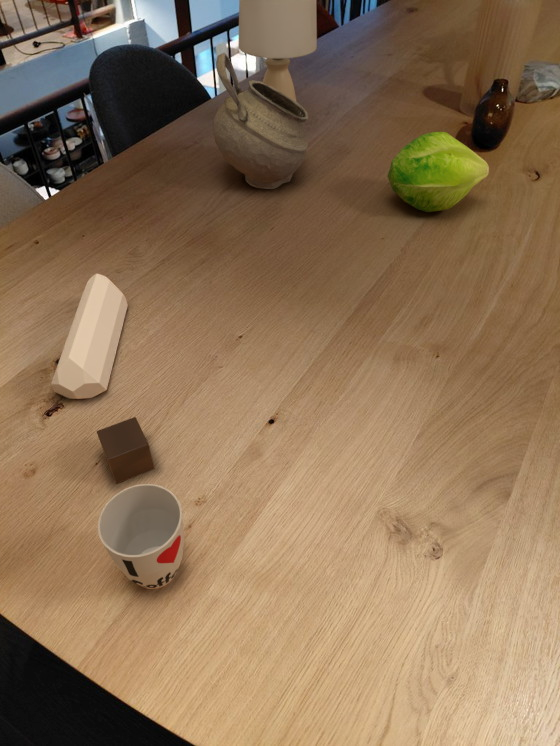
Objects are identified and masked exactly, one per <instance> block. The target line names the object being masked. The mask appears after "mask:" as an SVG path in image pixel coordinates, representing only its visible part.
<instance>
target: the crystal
mask: <svg viewBox="0 0 560 746" xmlns="http://www.w3.org/2000/svg"><path fill="white" fill-rule="evenodd" d="M127 310H128V301H127V298H126V296H125V295H124V293H123V292H122V291H121V290H120V289H119V288H118V287H117V285H116V284H114V283H113V282H112V281H111V280H110V278H108V277H107V276H106V275H103V274H100V273H97V272H96V273H95V274H93V275H91V276H90V278H89V279H88V280H87V282H86V285H85V287H84V289H83V292H82V294H81V297H80V300H79V303H78V306H77V309H76V312H75V314H74V317H73V320H72V323H71V325H70V328H69V332H68V334H67V337H66V340H65V343H64V346H63V348H62V351H61V354H60V357H59V360H58V363H57V364H56V365H57V366H56V368H55V371H54V374H53V377H52V380H51V383H50V385H51V388H52V391H53V392H54V393H56V394H58V395H61V396H62V397H65V398H67V399H72V400H73V399H74V400H75V399H77V400H79V399H93V398H94V397H97V396H98V395H100V394H103V393H104V392H106V391H107V390H108V385H109V383H110V379H111V374H112V370H113V366H114V362H115V358H116V354H117V350H118V345H119V342H120V338H121V334H122V331H123V325H124V322H125V319H126V314H127Z"/></svg>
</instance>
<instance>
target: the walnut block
mask: <svg viewBox="0 0 560 746" xmlns="http://www.w3.org/2000/svg"><path fill="white" fill-rule="evenodd" d="M96 435H97V437H98V440H99V442H100V443H99V444H100V446H101V448H102V451H103V454H104V457H105V460H106V462H107V464H108V467H109V470H110V472H111V475H112V478H113V479H114V483H115V484H116V485H117V484H119V483H122V482H125V481H127V480H130V479H132V478H135V477H138V476H140V475H142V474H145V473H147V472H149V471H152V470H154V469H155V464H154V460H153V456H152V452H151V448H150V445H149V442H148V440H147V438H146V436H145V434H144V432H143V430H142V427H141V425H140V423H139V421H138V418H137V417H136V416H134V417H131V418H128V419H126V420H123V421H120V422H117V423H115V424H112V425H109V426H106V427H104V428H101V429H98V430H96Z"/></svg>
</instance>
